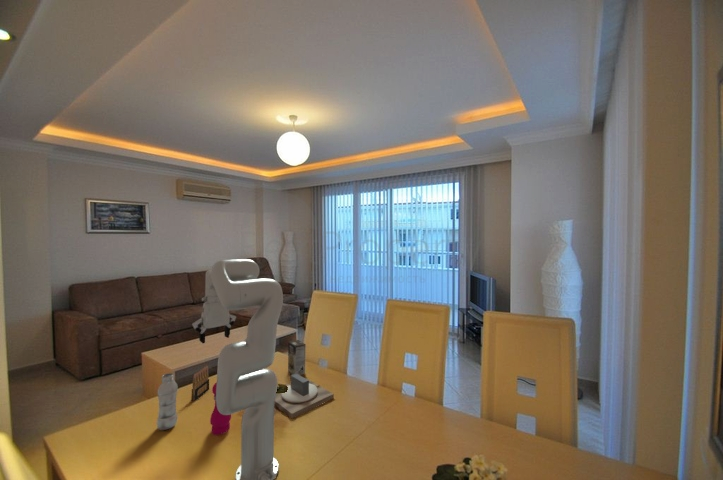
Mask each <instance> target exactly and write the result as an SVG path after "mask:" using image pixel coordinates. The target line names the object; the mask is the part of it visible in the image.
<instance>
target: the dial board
mask: <svg viewBox="0 0 723 480" xmlns="http://www.w3.org/2000/svg"><path fill="white" fill-rule="evenodd" d="M304 378H305V379H307V380H309V383H310V384H313V385H315V386H316V387H317V395H316V396H315V397H314V398H313V399H311V400H309V401H306V402H300V403H292V402H288V401H285V400H284V399H283V398H282V393H280V394H276V397H275V404H274V407H275V408H278V409H279V410H280V411H282V413H284V414H285V415H287V416H288V417H289V418H290V419H294V418H297V417H298V416H301V415H302V414H304V413H307V412H309V411H311V410H313V409H314V408H317V407H319V406H321V405H323V404H325V403H326V401H327V402H329V401H331V400H333V399H334V393H333V392H330V391H329V390H327V389H326V388H324V387H322V386H320V384H317V383H315V382H313V381H311V380H310V379H308V378H306V377H304ZM289 385H291V383H289V384H285V386H289ZM332 398H333V399H332ZM330 399H331V400H330ZM328 400H329V401H328ZM324 402H325V403H324ZM322 403H323V404H322ZM320 404H321V405H320ZM318 405H319V406H318ZM316 406H317V407H316Z"/></svg>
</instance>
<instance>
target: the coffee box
mask: <svg viewBox="0 0 723 480" xmlns="http://www.w3.org/2000/svg"><path fill="white" fill-rule="evenodd" d="M287 344H288V347H287V354H288V357H287V362H288V363H287V364H288V365H287V371H288V372H289V373H290V374H291V375H294V374H296V373H297V374H298V375H300V376H302V375H305V374H306V347H307V346H306V344H305V343H304V342H302V341H301V340H300V339H297V340H292V341H291V340H290V341H287Z"/></svg>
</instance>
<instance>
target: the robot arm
mask: <svg viewBox="0 0 723 480" xmlns="http://www.w3.org/2000/svg"><path fill="white" fill-rule="evenodd" d="M259 275H260V266H259V265H258V263H256V262H255V261H254V260H253V259H247V258H240V259H239V258H238V259H237V258H235V259H220V260H217V261H216V262H215V263H214V264H213V265H212V268H211V269H208V270H207V271H206V272H205V284H204V285H205V291H204V292H205V294H204V297H202V298H201V301H202V302H203V303H202V304H203V305H202V308H201V309H202V310H201V315H200V316H201V317H200V318H199V319H197V320H196V321H194V322H192V324H191V325H192V327H193V329H194V330H195V331H196V332H197V333H199V334H198V335H199V337H198V339H199V342H200V343H202V344H205V343H206V333H205V332H206V331H207V329H212V328H213V329H214V328H219V327H222V326H225V327H224V337H226V338H227V339H229V338H230V335H231V328H232V326H233V325H234V324H235V321H236V319H237V316H236V315H234V314H231V313H230V311H237V310H244V309H249V308H255V307H256V308H257V307H259V308H258V309H257V310H256V311H255V313H254V314H252V317H251V318H250V319H249V322H248V324H247V329H246V331H247V332H246V333H247V334H246V337H245V339H243V340H241V341H240V340H239V341H236V342H231V343H229V344H227V345H225V346H223V348H222V349H221V350H220V352H219V355H218V358H217V372H216V382H217V386H216V405H217V409H218V411H219V412H220V413H221V414H222V415H230V414H231V415H233V414H236V413H238V412H241V411H243V414H242V417H241V423H240V424H241V425H240V426H241V428H240V429H241V432H240V434H241V436H240V438H241V439H240V440H241V441H240V449H241V450H240V465H239V466H238V468H237V469H236V472H235V477H234V479H235V480H275V479H276V478H277V475H278V473H279V469H280V468H279V466H280V465H279V462H278V460H277V459H276V457H274V456H275V455H274V451H275V449H274V447H275V446H274V445H275V443H274V442H275V440H274V439H275V438H274V437H275V433H274V432H275V423H274V422H275V405H274V404H275V397H276V392H277V389H278V382H279V381H278V376H277V375H276V373H275V371H273V370H272V369H270V368H269V367H270V366H272V364H273V362H274V360H275V355H276V345H277V343H276V342H277V331H278V329H277V328H278V322H279V320H280V319H279V318H280V317H281V312H282V309H283V302H284V294H283V288H282V286H281V284H280V283H279V281H278V280H275V279H272V278H258V277H259ZM230 318H231V319H230ZM199 324H201V325H200V326H201V327H200V328H199Z"/></svg>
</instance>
